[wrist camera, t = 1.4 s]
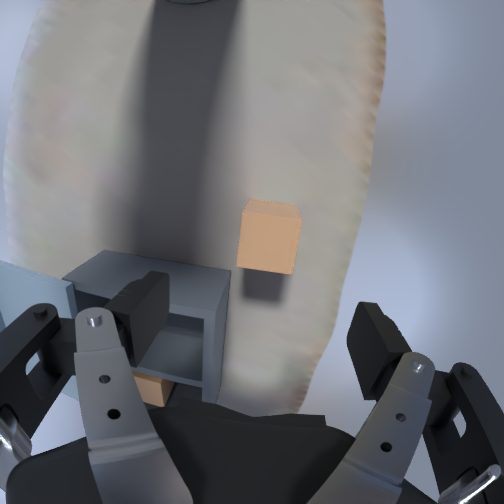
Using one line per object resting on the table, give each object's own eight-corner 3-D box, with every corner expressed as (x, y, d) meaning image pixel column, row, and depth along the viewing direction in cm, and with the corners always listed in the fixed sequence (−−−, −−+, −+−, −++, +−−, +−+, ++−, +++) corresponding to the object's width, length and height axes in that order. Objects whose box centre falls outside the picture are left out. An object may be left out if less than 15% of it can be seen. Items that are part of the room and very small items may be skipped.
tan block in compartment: (145, 339, 29) (123, 373, 23) (177, 347, 29) (160, 383, 23) (148, 364, 30) (130, 397, 25) (179, 371, 30) (164, 407, 25)
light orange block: (250, 198, 24) (242, 211, 18) (295, 205, 24) (302, 219, 18) (245, 241, 25) (236, 266, 20) (288, 248, 25) (292, 274, 20)
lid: (-13, 255, 20) (-33, 266, 17) (72, 282, 19) (47, 301, 16) (21, 363, 25) (8, 377, 22) (104, 404, 25) (92, 425, 21)
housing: (104, 250, 27) (62, 277, 20) (230, 270, 26) (215, 311, 19) (119, 361, 32) (95, 398, 25) (220, 385, 32) (209, 432, 25)
